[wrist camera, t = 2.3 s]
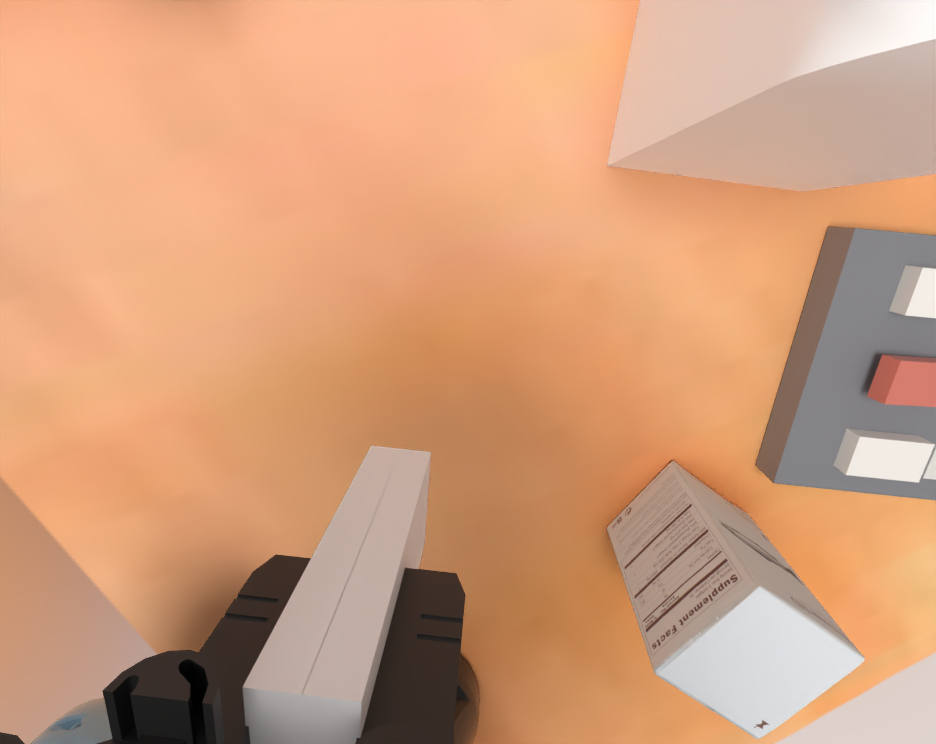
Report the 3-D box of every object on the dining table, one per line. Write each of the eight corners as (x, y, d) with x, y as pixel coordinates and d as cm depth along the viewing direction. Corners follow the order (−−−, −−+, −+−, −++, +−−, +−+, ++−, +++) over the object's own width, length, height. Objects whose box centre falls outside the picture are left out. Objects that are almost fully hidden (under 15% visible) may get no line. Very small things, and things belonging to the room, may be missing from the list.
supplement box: (749, 511, 36) (874, 663, 24) (676, 577, 38) (758, 747, 26) (672, 455, 35) (763, 584, 23) (601, 525, 37) (651, 678, 25)
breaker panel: (916, 481, 34) (962, 512, 31) (755, 465, 35) (783, 493, 31) (1017, 244, 29) (1086, 248, 26) (828, 226, 30) (870, 229, 26)
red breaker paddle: (933, 400, 30) (953, 407, 29) (866, 396, 30) (884, 404, 28) (950, 358, 29) (971, 365, 28) (882, 354, 29) (901, 360, 28)
